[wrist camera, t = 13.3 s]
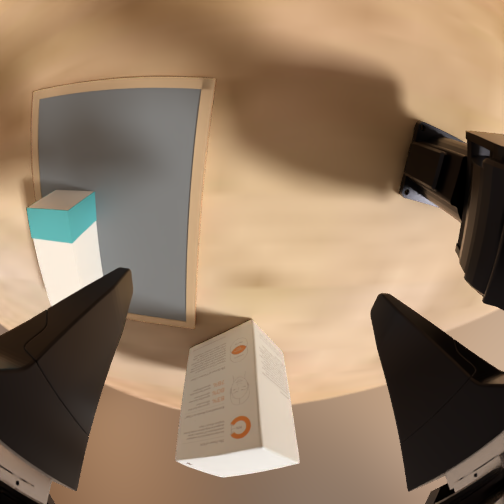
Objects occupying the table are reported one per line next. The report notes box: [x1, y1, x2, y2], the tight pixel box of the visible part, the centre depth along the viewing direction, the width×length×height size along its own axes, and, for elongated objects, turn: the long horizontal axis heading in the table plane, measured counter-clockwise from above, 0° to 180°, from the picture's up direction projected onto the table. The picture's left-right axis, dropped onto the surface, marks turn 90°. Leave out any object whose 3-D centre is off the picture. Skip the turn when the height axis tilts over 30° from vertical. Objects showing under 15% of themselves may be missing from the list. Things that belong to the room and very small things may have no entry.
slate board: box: [31, 77, 216, 329], centre depth 20 cm, size 15×21×1 cm
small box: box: [175, 319, 300, 477], centre depth 22 cm, size 8×6×13 cm
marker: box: [27, 190, 103, 306], centre depth 20 cm, size 4×14×4 cm, turn 172°
